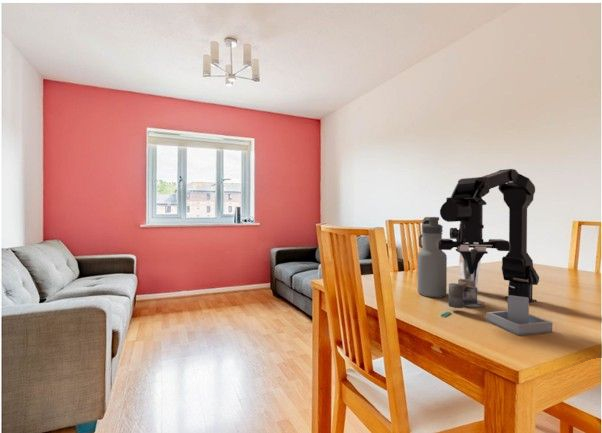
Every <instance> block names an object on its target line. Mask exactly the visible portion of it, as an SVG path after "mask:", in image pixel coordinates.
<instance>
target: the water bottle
mask: <svg viewBox="0 0 602 433" xmlns="http://www.w3.org/2000/svg"><path fill="white" fill-rule="evenodd" d="M439 221H440V217H439V216H425V217H424V218H423V219H422V224H421V234H420V235H419V236H418V246H419V248H421V250H419V252H418V253H417V282H416V283H417V285H416V286H417V293H418V294H419V295H421V296H424V297H429V298H442V297H445V296H446V295H447V291H448V290H447V289H448V288H447V285H448V283H447V278H448V277H447V272H448V271H447V264H448V262H447V259H448V257H447V253H446V252H444V250H439V249H437V248H436V247H435V242H436V240H437V239H443V238H442V237H443V228H444V227H443V225H441V224H439Z"/></svg>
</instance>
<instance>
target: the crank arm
mask: <svg viewBox="0 0 602 433" xmlns="http://www.w3.org/2000/svg"><path fill="white" fill-rule="evenodd" d="M467 287H476V281H474V280H469V279H462V278H459V279H458V283H456V282H455V283H453V282H452V283H448V306H449V307H450V308H453V309H463V308H464V307H463V289H465V288H467Z"/></svg>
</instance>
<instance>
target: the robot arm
mask: <svg viewBox="0 0 602 433" xmlns="http://www.w3.org/2000/svg"><path fill="white" fill-rule="evenodd" d="M496 187H498V190H499V192H500V193H501V194H502V195H503V196H502V197H503V202H504V203H505V204H506V206H507V207H508V210H509V211H508V214H509V215H508V217H509V218H508V219H509V220H508V223H509V224H508V227H509V228H508V230H509V232H508V240H506V239H501V238H498V239H497V238H489V239H488V241H484V238H483V229H484V224H483V214H484V213H483V212H484V210H483V209H484V208H483V207H484V206H486V205H487V202H486V201H485V200H484V199H483V197H485V196H486V195H488V194H490V190H491V189H494V188H496ZM535 193H536V186H535V185H534V182H532V181H531V179H530V178H529V177H527V176H525V175H523V174H522V173H521V174H520V173H519V172H518V171H517V170H516V169H515V168H507V169H500V170H497V171H495V172H492V173H490V174H486V175H484V176H479V177H478V176H476V177H465V178H461V179H460V178H459V180H458V181H457V184H456V185H455V187H454V189H453V191H452V194H451V196H449V197H446V201H445V202H444V203H443V204H442V205H441V207H440V209H439V215H440V217H441V219H442V220H443V221H445V222H448V223H451V222H452V223H453V222H460V223H459V229H458V228H457V227H450V228H449V238H442V239H437V240H436V242H435V247H436V248H437V249H439V250H442V251H444V250H445V251H451V250H452V249H454V248H455V251H456V252H457V253H459V254H460V253H461V255H462V257H463V258H464V261H465V263H466V266H467V269H468V272H469V274H473V273H474V271H475V269H476V267H477V265H478V263H479V261H480V262H481V260H482V259H483V257H484V255H485V254H486V255H487V254H489V252H488V251H487V249H496V251H498V252H507V253H506V255H505V256H503V257H502V258H501V263H502V265H501V272H502V277H503V280H504V281H508V286H507V287H508V288H507V289H508V290H507V295H505V296H504V298H505V299H507V300H508V295H512V296H520V297H528V298H529V303H537V299H535V298H533V289H534V286H537V285H538V284H539V282H540V276H539V274H538V273H537V270H536V269H535V268H534V264H533V263H534V262H533V261H534V260H533V259H532V257H531V256H530V255H529V253H528V250H527V249H528V248H527V247H528V244H527V243H528V242H527V241H528V240H527V239H528V207H529V206H531V204H532V203H533V201H534V196H535ZM469 250H471V251H469ZM471 255H472V256H471Z"/></svg>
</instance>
